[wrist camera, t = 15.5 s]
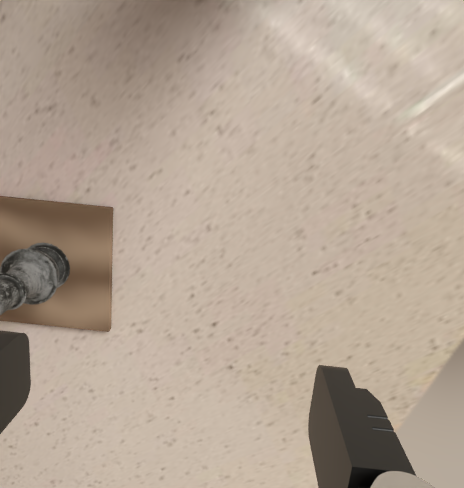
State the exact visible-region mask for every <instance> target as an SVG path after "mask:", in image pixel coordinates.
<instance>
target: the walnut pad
mask: <svg viewBox="0 0 464 488" xmlns="http://www.w3.org/2000/svg"><path fill="white" fill-rule="evenodd" d="M112 242H113V207H104V206H94V205H84V204H74V203H64V202H54V201H44V200H34V199H24V198H14V197H4V196H0V266H1V263H2V261H3V260H4V258H5V257H6V256H7V255H8V254H10V253H11V252H13V251H15V250H18V249H27V248H29V247H30V246H31V245H34V244H36V243H49V244H52V245H54V246H57V247H58V248H59V249H60V250H62V251H63V253H64V254H65V255H66V257H67V259H68V261H69V265H70V274H69V276H68V279H67V280H66V282H65V283H64V284H63V285H61V286H60V287H58V288H57V289H56V292H55V293H54V295H53V296H52V297H51V298H50V299H49V300H47V301H46V302H44V303H41V304H34V305H30V304H24V303H23V304H22V305H21V306H20V307H18V308H16V309H13V310H7V311H6V312H4V313H3V314H1V315H0V320H2V321H11V322H21V323H30V324H40V325H49V326H59V327H69V328H78V329H88V330H97V331H107V332H109V331H110V329H111V300H112Z"/></svg>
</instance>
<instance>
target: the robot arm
mask: <svg viewBox="0 0 464 488" xmlns="http://www.w3.org/2000/svg"><path fill="white" fill-rule="evenodd" d="M30 385H31V380H30V355H29V339H28V336H27V335H26V334H25V333H17V332H7V331H0V434H1V433H2V431H3V430H4V429H5V428H6V427H7V425H8V424H9V423H10V422H11V421H12V419H13V418H14V417H15V416H16V415H17V413H18V412H19V411H20V410H21V409H22V407H23V406H24V404H25V402H26V400H27V398H28V395H29V391H30ZM387 418H388V417H387V415H386V413H385V411H384V409H383V407H382V405H381V402H380V401H378V400H377V399H376V398H375V397H374V396H373V395H372V394H371V393H370V392H369V391H368V390H367V389H360V388H355V385H354V383H353V380H352V378H351V376H350V373H349V371H348V369H347V368H342V367H332V366H323V365H319V366H318V368H317V371H316V377H315V383H314V389H313V395H312V401H311V407H310V413H309V440H310V445H311V451H312V456H313V461H314V466H315V471H316V476H317V481H318V486H319V488H434V487H433V486H432V485H431V484H429V483H428V482H426V481H425V480H423V479H421V478H419V477H417V476H416V474H415V472H414V470H413V468H412V466H411V464H410V462H409V460H408V458H407V456H406V454H405V452H404V450H403V448H402V446H401V444H400V441H399V439H398V437H397V435H396V433H395V432H394V431H393V430H394V429H393V427H392V425H391V423H390V421H389V420H388V419H387Z"/></svg>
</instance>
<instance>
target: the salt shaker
mask: <svg viewBox="0 0 464 488" xmlns="http://www.w3.org/2000/svg"><path fill="white" fill-rule="evenodd" d="M69 274H70V265H69V261H68V259H67V257H66V255H65V254H64V253H63V251H62V250H60V249H59V248H58V247H57V246H54V245H52V244H49V243H36V244H34V245H31V246H30V247H29V248H27V249H18V250H15V251H13V252H11V253H10V254H8V255H7V256H6V257H5V258H4V260H3V261H2V263H1V266H0V315H1V314H3V313H4V312H6V311H7V310H13V309H16V308H18V307H20V306H21V305H22V304H23V303H24V304H30V305H34V304H41V303H44V302H46V301H47V300H49V299H50V298H51V297H52V296H53V295H54V293H55V292H56V289H57V288H58V287H60V286H61V285H63V284H64V283H65V282H66V280H67V279H68V276H69Z"/></svg>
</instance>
